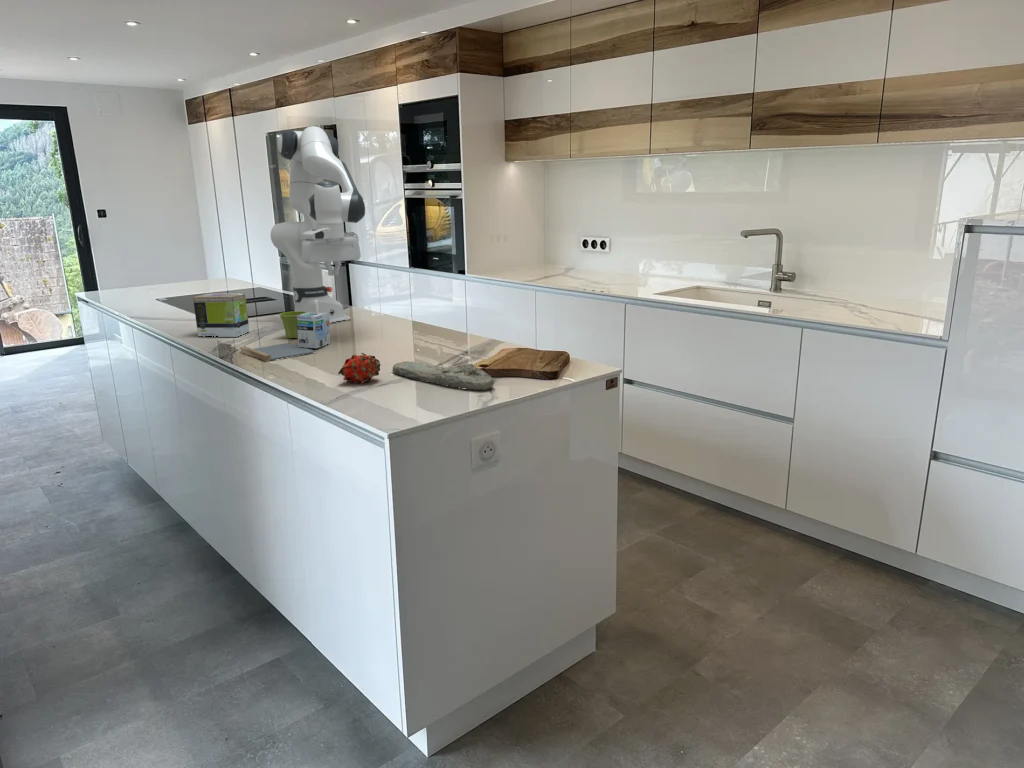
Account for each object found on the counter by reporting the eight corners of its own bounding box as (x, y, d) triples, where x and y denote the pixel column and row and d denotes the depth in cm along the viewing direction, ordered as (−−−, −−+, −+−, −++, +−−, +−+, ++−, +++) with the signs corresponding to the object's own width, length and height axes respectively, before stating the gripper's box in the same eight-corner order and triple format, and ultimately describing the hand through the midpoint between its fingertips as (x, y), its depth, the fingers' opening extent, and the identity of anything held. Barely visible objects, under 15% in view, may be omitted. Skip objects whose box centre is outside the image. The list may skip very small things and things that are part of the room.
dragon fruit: (385, 384, 191) (344, 397, 186) (374, 362, 195) (332, 374, 190) (387, 365, 185) (344, 377, 180) (375, 342, 189) (332, 354, 184)
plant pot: (301, 340, 242) (299, 316, 240) (276, 339, 244) (274, 315, 241) (313, 335, 251) (311, 311, 248) (289, 334, 253) (287, 310, 250)
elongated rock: (409, 372, 204) (384, 381, 197) (407, 355, 203) (382, 363, 195) (503, 384, 183) (480, 395, 176) (502, 365, 182) (478, 375, 174)
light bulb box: (316, 349, 226) (315, 316, 224) (297, 347, 227) (296, 314, 225) (331, 343, 236) (330, 312, 234) (312, 342, 238) (311, 311, 235)
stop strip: (245, 351, 225) (245, 346, 225) (271, 360, 213) (270, 355, 212) (240, 352, 224) (240, 347, 223) (266, 361, 212) (265, 355, 211)
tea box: (250, 332, 256) (246, 292, 252) (237, 338, 247) (232, 296, 243) (211, 332, 258) (206, 292, 254) (197, 337, 248) (191, 296, 244)
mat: (289, 344, 235) (289, 342, 235) (316, 352, 223) (315, 351, 223) (246, 351, 225) (246, 349, 225) (271, 360, 213) (271, 358, 213)
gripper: (352, 231, 238) (355, 272, 241) (297, 233, 224) (301, 276, 227) (362, 232, 233) (365, 273, 237) (307, 234, 219) (310, 278, 223)
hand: (333, 275), depth 232 cm, fingers closed
